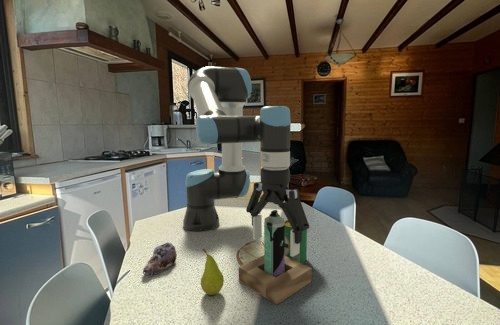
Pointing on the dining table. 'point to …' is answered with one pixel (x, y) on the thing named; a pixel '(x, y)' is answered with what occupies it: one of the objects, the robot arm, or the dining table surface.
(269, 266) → the spray can
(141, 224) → the dining table surface
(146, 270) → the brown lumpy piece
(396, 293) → the dining table surface
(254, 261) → the hole block
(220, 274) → the fruit
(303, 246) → the beverage can
